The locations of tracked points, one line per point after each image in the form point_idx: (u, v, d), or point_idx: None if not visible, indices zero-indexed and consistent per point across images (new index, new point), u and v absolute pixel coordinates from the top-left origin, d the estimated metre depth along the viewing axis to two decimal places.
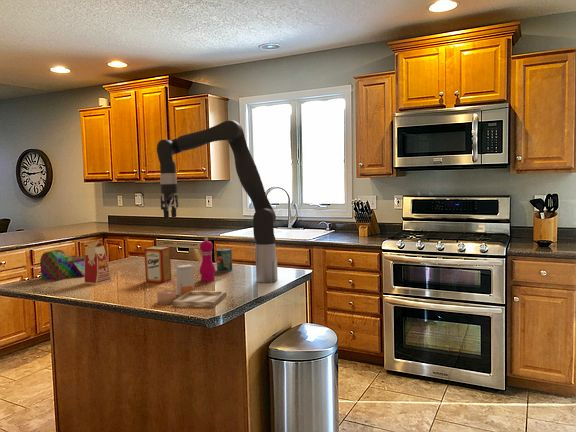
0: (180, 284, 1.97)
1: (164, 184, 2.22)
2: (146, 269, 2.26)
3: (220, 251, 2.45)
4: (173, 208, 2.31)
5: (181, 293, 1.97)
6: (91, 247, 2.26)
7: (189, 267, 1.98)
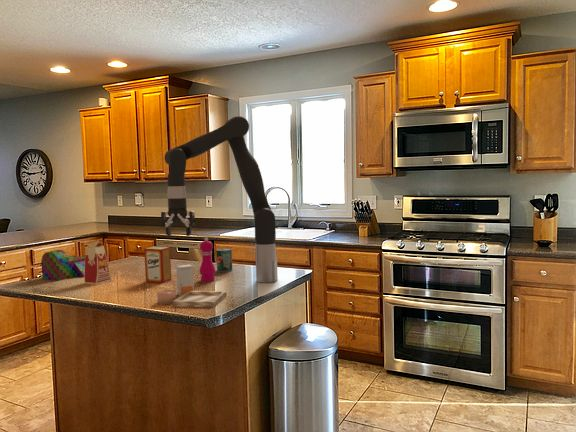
0: (180, 284, 1.97)
1: (184, 198, 2.01)
2: (146, 269, 2.26)
3: (220, 251, 2.45)
4: (169, 226, 2.04)
5: (181, 293, 1.97)
6: (91, 247, 2.26)
7: (189, 267, 1.98)
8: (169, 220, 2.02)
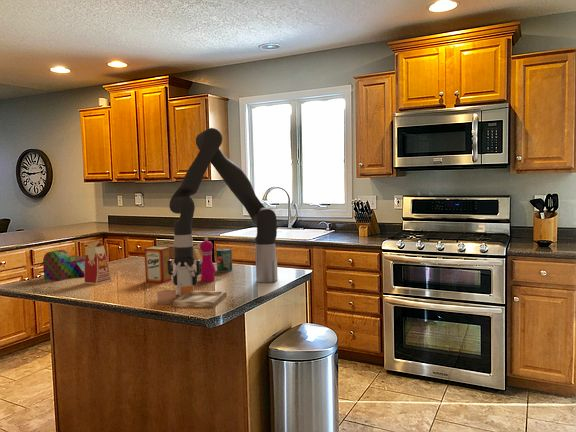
0: (180, 284, 1.97)
1: (191, 246, 1.97)
2: (146, 269, 2.26)
3: (220, 251, 2.45)
4: (176, 274, 2.00)
5: (181, 293, 1.97)
6: (91, 247, 2.26)
7: None
8: (176, 269, 1.98)
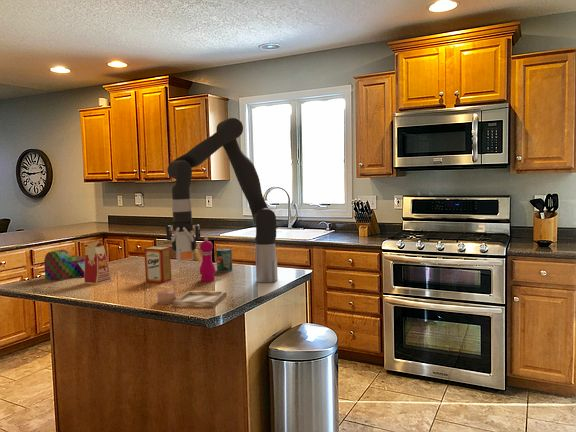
0: (179, 249, 1.95)
1: (190, 211, 1.96)
2: (146, 269, 2.26)
3: (220, 251, 2.45)
4: (175, 240, 1.99)
5: (180, 258, 1.96)
6: (91, 247, 2.26)
7: None
8: (175, 234, 1.97)
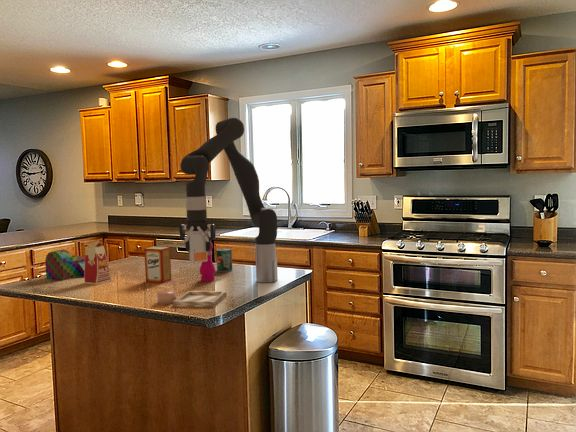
0: (193, 250, 1.84)
1: (205, 209, 1.85)
2: (146, 269, 2.26)
3: (220, 251, 2.45)
4: (188, 240, 1.87)
5: (194, 259, 1.85)
6: (91, 247, 2.26)
7: None
8: (189, 234, 1.85)
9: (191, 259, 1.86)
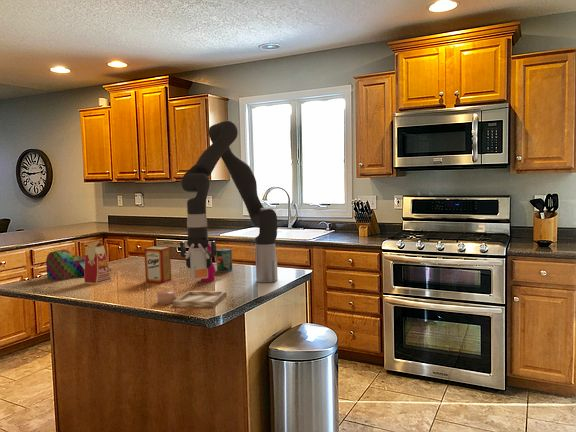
0: (194, 267, 1.85)
1: (206, 226, 1.85)
2: (146, 269, 2.26)
3: (220, 251, 2.45)
4: (189, 257, 1.88)
5: (195, 276, 1.85)
6: (91, 247, 2.26)
7: None
8: (189, 251, 1.86)
9: (192, 276, 1.86)
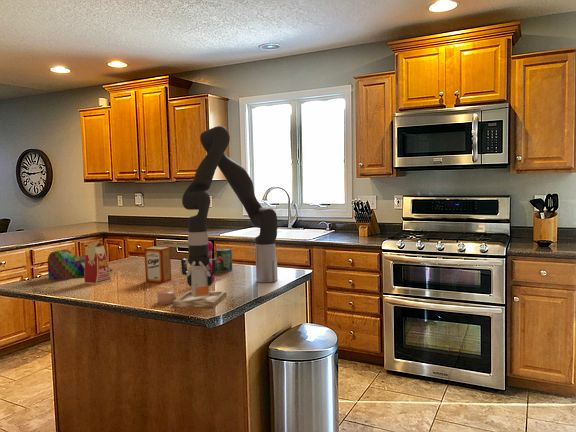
0: (195, 284, 1.85)
1: (207, 244, 1.86)
2: (146, 269, 2.26)
3: (220, 251, 2.45)
4: (190, 274, 1.89)
5: (196, 294, 1.86)
6: (91, 247, 2.26)
7: None
8: (190, 268, 1.86)
9: (193, 293, 1.87)
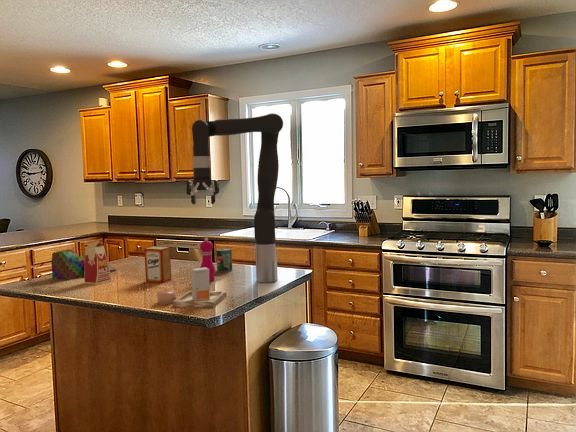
0: (195, 288, 1.85)
1: (209, 167, 2.11)
2: (146, 269, 2.26)
3: (220, 251, 2.45)
4: (194, 194, 2.14)
5: (196, 298, 1.86)
6: (91, 247, 2.26)
7: (205, 270, 1.86)
8: (194, 189, 2.12)
9: (194, 297, 1.87)
